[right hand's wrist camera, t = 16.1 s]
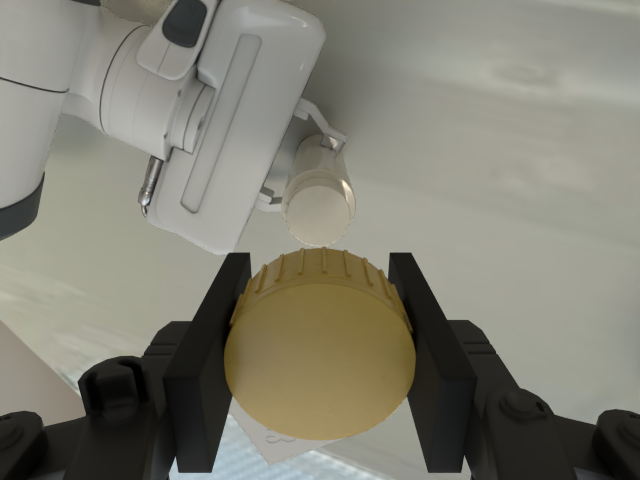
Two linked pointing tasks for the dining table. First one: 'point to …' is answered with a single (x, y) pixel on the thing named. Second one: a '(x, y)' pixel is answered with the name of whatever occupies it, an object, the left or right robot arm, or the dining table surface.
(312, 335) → the lid
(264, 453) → the invitation card
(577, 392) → the dining table surface
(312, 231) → the white cylinder
